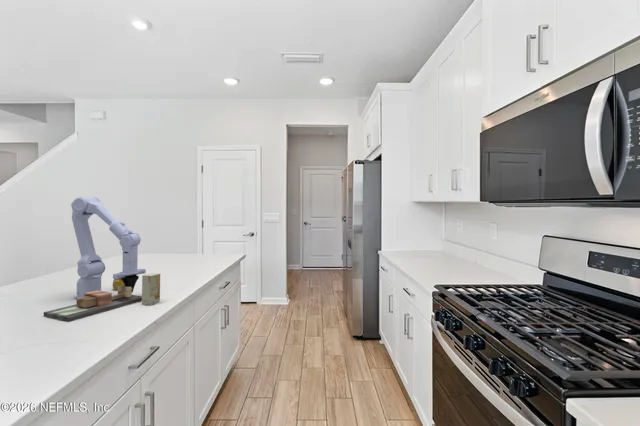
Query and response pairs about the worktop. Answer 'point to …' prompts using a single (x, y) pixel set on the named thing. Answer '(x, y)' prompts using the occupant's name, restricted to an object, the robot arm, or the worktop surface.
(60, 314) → the plate
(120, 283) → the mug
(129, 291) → the tan wooden brick
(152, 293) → the skincare box
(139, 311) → the worktop surface
